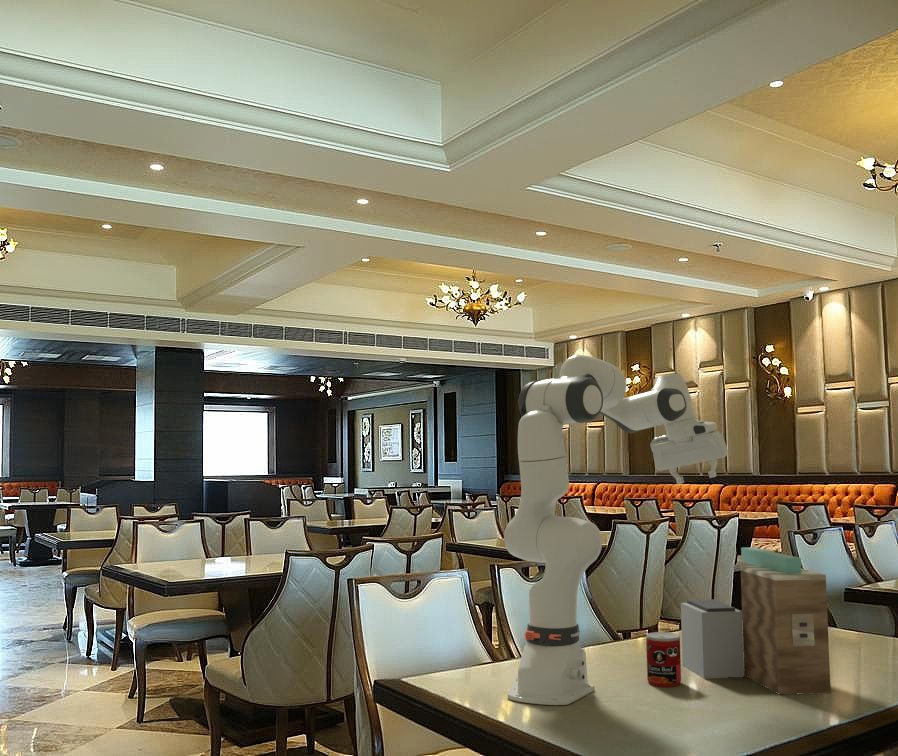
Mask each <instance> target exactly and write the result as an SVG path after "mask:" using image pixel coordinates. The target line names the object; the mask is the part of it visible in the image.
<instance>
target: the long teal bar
mask: <svg viewBox="0 0 898 756" xmlns="http://www.w3.org/2000/svg"><path fill="white" fill-rule="evenodd" d="M740 550H741V551H740V553H741V556H740V557H741V562H742V563H745V564H749V565H751V566H760V567H763V568H767V569H771V570H774V571H778V572H782V573H786V574H801V569H802V558H801V557H797V556H794V555H789V554H785V553H780V552H776V551H772V550H767V549H762V548H758V547H740Z"/></svg>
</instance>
